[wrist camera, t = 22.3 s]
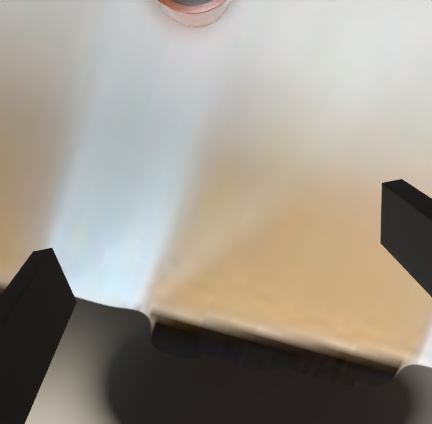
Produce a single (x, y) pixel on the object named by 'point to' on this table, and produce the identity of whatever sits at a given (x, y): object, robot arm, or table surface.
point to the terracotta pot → (194, 11)
